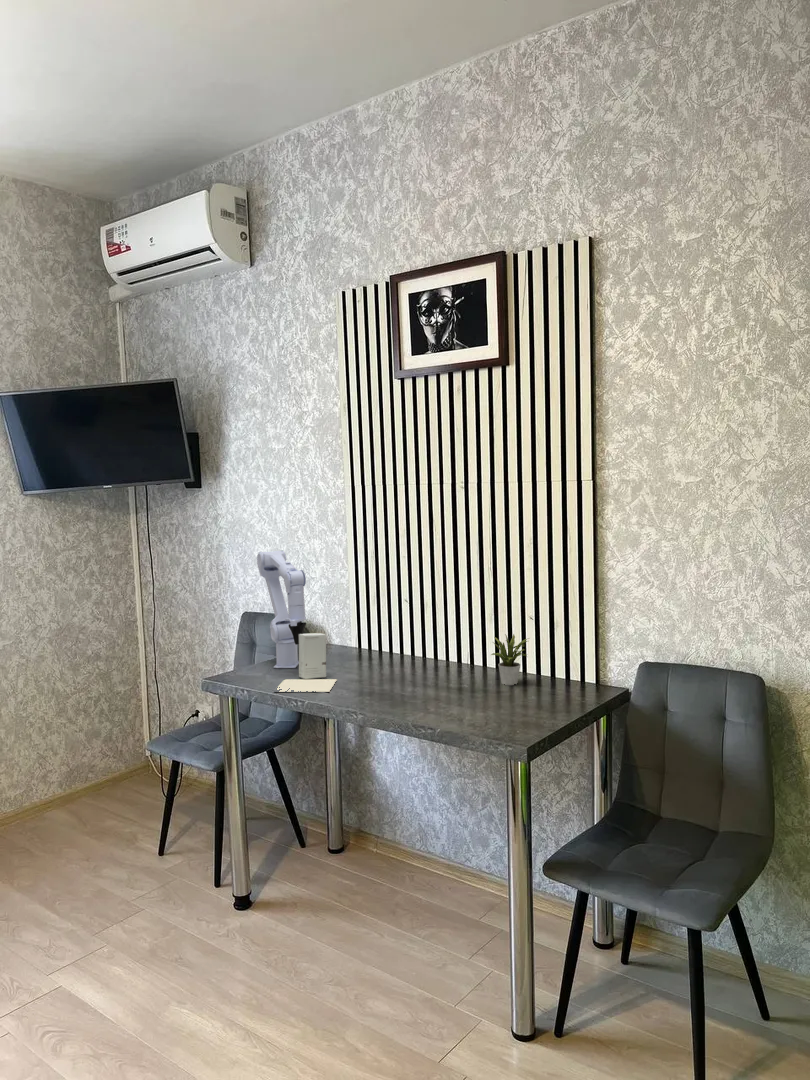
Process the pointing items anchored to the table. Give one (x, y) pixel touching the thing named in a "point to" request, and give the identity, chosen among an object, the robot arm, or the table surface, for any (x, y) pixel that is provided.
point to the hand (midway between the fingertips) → (298, 644)
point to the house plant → (509, 661)
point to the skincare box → (312, 655)
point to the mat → (307, 685)
